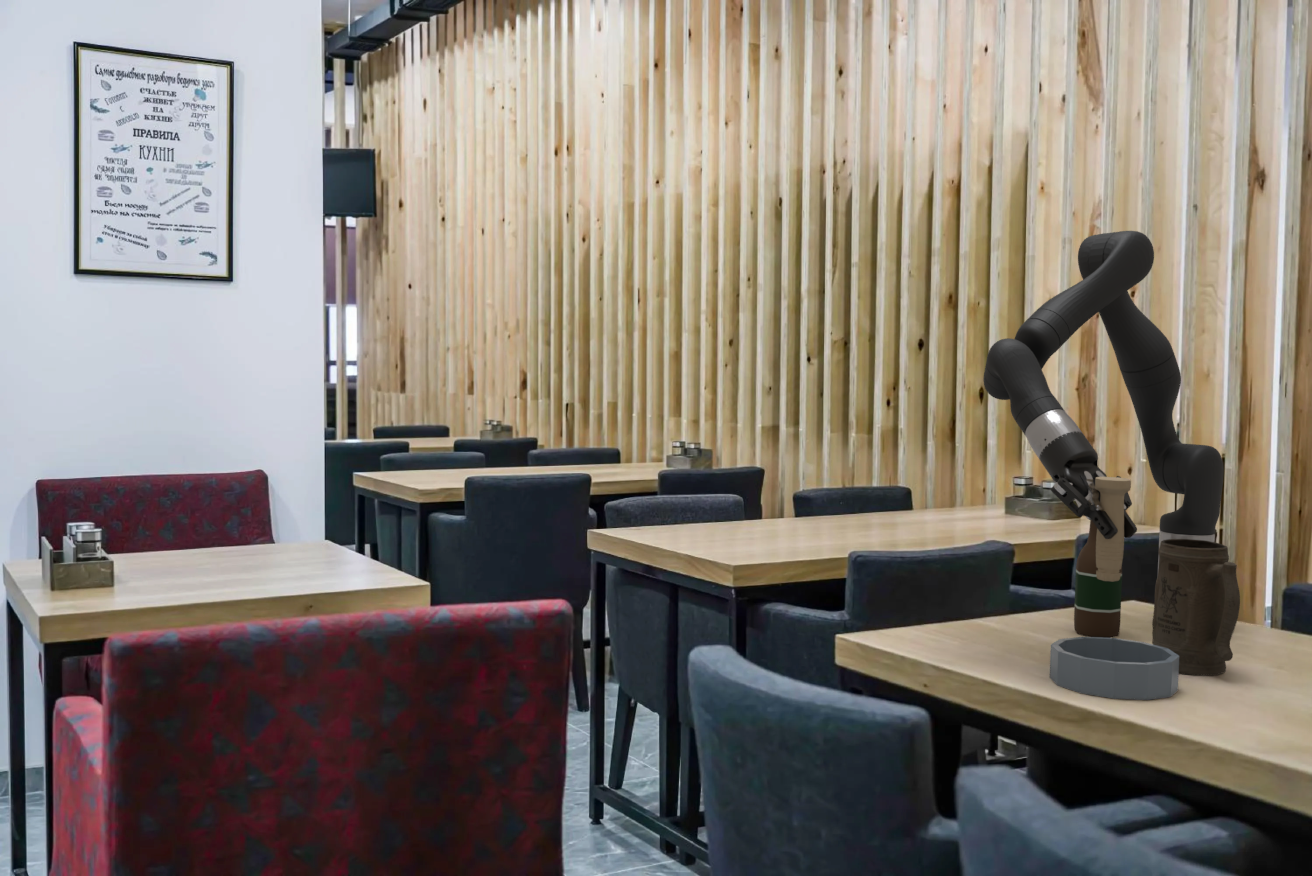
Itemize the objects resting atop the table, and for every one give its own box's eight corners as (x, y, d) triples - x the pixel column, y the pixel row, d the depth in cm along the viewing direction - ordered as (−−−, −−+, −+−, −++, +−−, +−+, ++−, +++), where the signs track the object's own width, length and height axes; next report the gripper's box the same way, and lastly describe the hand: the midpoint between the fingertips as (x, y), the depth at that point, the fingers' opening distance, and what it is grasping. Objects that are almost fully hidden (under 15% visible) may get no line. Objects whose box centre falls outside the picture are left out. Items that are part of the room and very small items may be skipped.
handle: (1124, 578, 177) (1129, 478, 176) (1126, 585, 171) (1132, 481, 170) (1090, 575, 179) (1094, 476, 178) (1091, 582, 173) (1096, 479, 172)
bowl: (1111, 665, 186) (1112, 633, 185) (1202, 692, 170) (1203, 658, 170) (1026, 675, 179) (1028, 642, 178) (1113, 704, 163) (1115, 668, 163)
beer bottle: (1124, 632, 210) (1129, 497, 209) (1114, 640, 204) (1120, 501, 202) (1078, 626, 214) (1083, 494, 213) (1068, 634, 208) (1073, 497, 206)
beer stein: (1131, 660, 189) (1143, 537, 186) (1181, 655, 193) (1193, 534, 191) (1210, 691, 175) (1224, 558, 172) (1263, 685, 179) (1277, 555, 177)
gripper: (1041, 429, 177) (1104, 521, 167) (1107, 429, 184) (1171, 517, 174) (1013, 462, 182) (1073, 553, 172) (1078, 461, 189) (1139, 548, 179)
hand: (1122, 534), depth 173 cm, fingers closed on handle, 3 cm apart
